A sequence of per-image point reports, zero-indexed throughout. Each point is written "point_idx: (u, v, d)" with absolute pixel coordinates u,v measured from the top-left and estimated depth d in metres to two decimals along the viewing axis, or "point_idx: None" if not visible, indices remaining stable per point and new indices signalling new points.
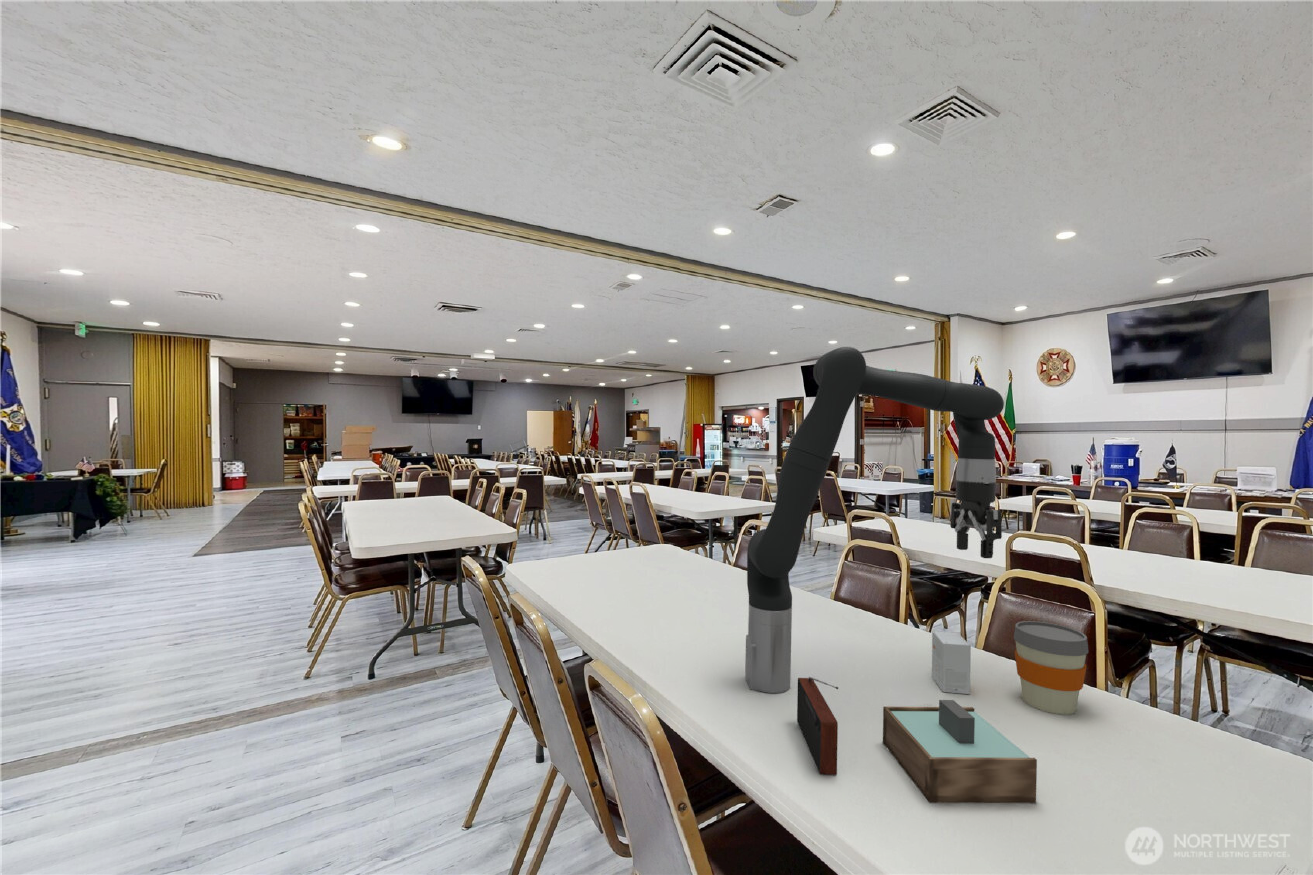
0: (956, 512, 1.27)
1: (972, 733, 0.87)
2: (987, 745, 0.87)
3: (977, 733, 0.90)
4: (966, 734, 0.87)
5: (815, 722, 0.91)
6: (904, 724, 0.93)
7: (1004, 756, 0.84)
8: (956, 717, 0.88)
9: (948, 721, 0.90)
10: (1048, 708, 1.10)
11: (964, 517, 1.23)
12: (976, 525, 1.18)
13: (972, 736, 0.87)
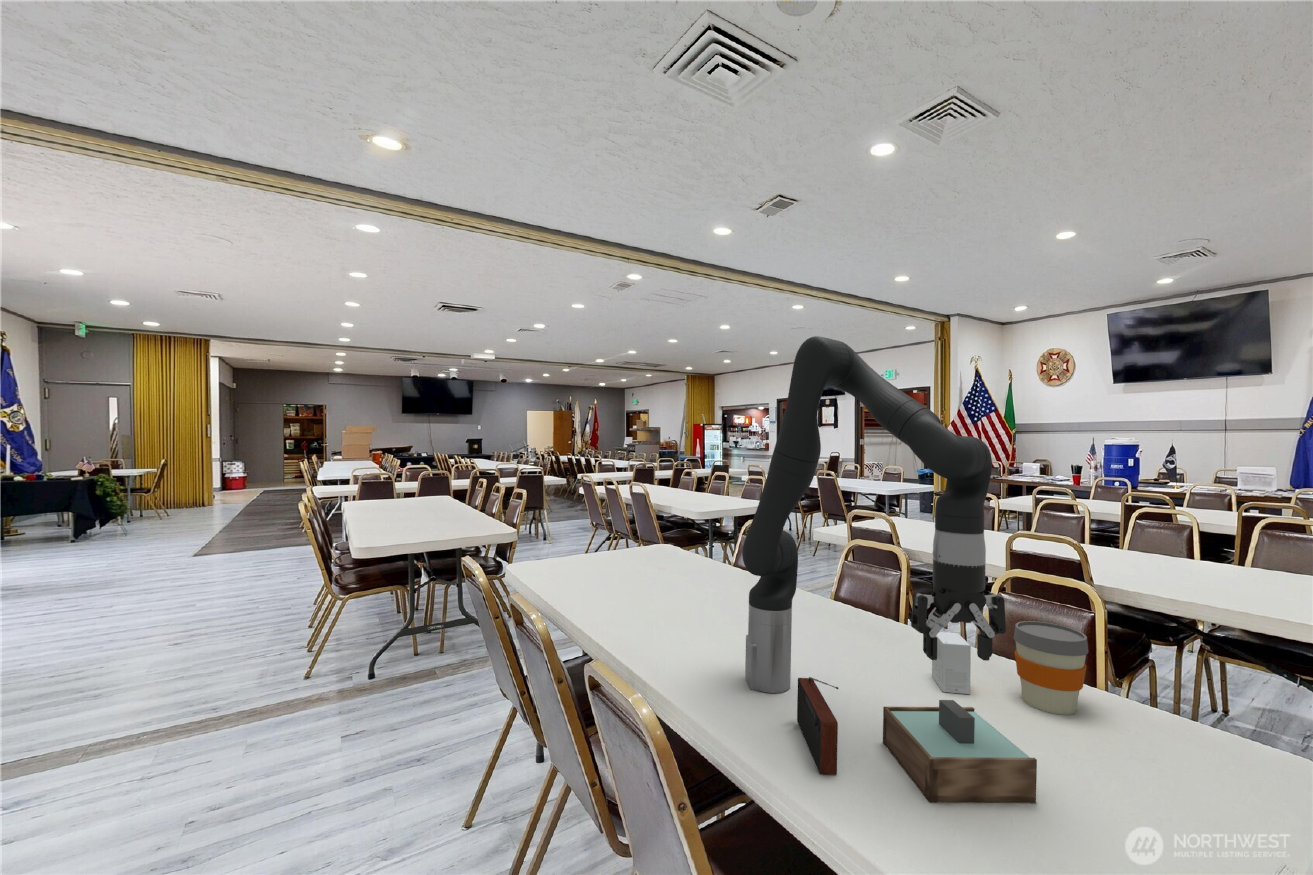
0: None
1: (972, 733, 0.87)
2: (987, 745, 0.87)
3: (977, 733, 0.90)
4: (966, 734, 0.87)
5: (815, 722, 0.91)
6: (904, 724, 0.93)
7: (1004, 756, 0.84)
8: (956, 717, 0.88)
9: (948, 721, 0.90)
10: (1048, 708, 1.10)
11: None
12: (984, 621, 0.89)
13: (972, 736, 0.87)
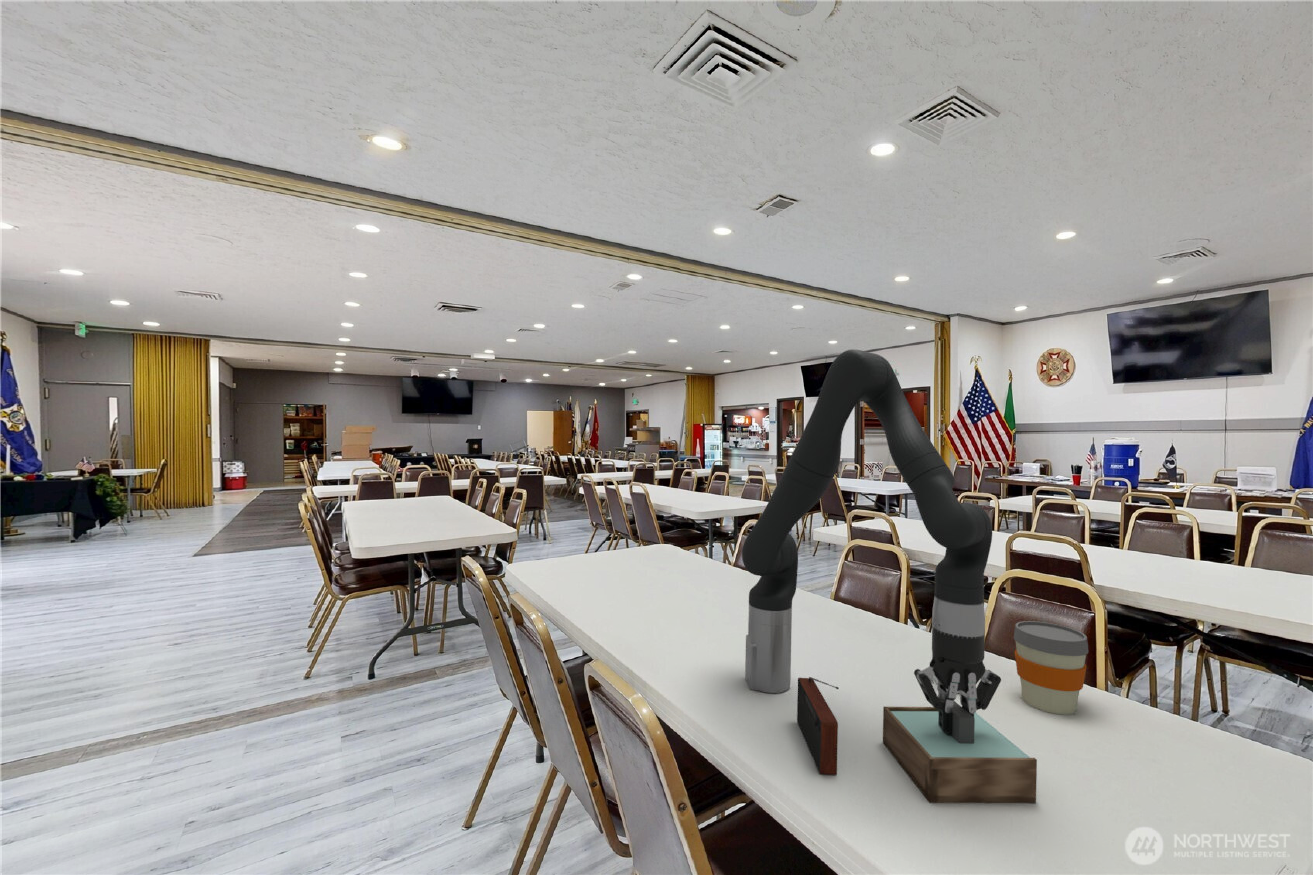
0: None
1: (972, 733, 0.87)
2: (987, 745, 0.87)
3: (977, 733, 0.90)
4: (966, 734, 0.87)
5: (815, 722, 0.91)
6: (904, 724, 0.93)
7: (1004, 756, 0.84)
8: (956, 717, 0.88)
9: None
10: (1048, 708, 1.10)
11: None
12: (973, 694, 0.89)
13: (972, 736, 0.87)
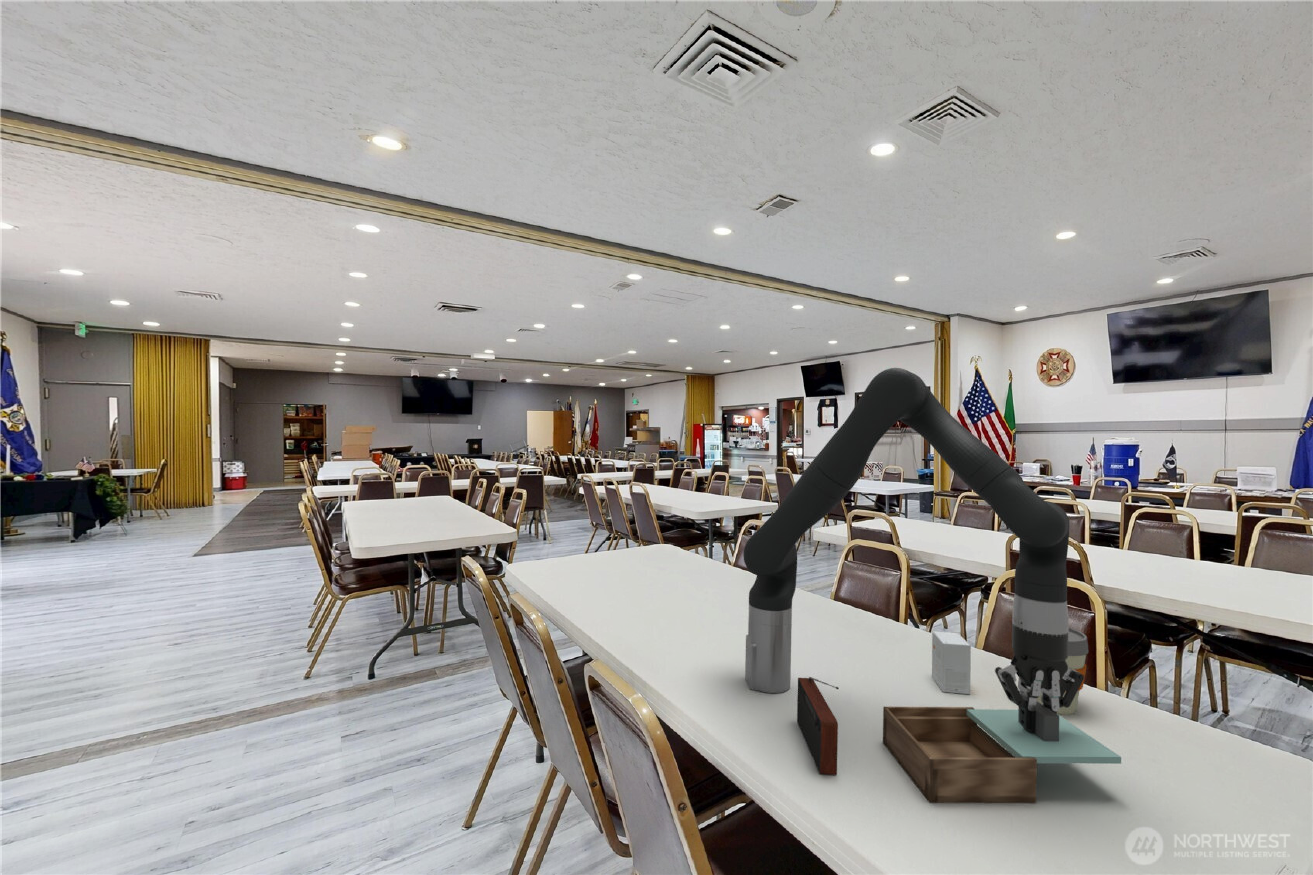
0: None
1: (1057, 731, 0.87)
2: (1072, 743, 0.87)
3: (1059, 731, 0.90)
4: (1051, 732, 0.87)
5: (815, 722, 0.91)
6: (984, 722, 0.93)
7: (1092, 754, 0.84)
8: (1040, 715, 0.88)
9: None
10: None
11: None
12: (1057, 692, 0.89)
13: (1057, 734, 0.87)
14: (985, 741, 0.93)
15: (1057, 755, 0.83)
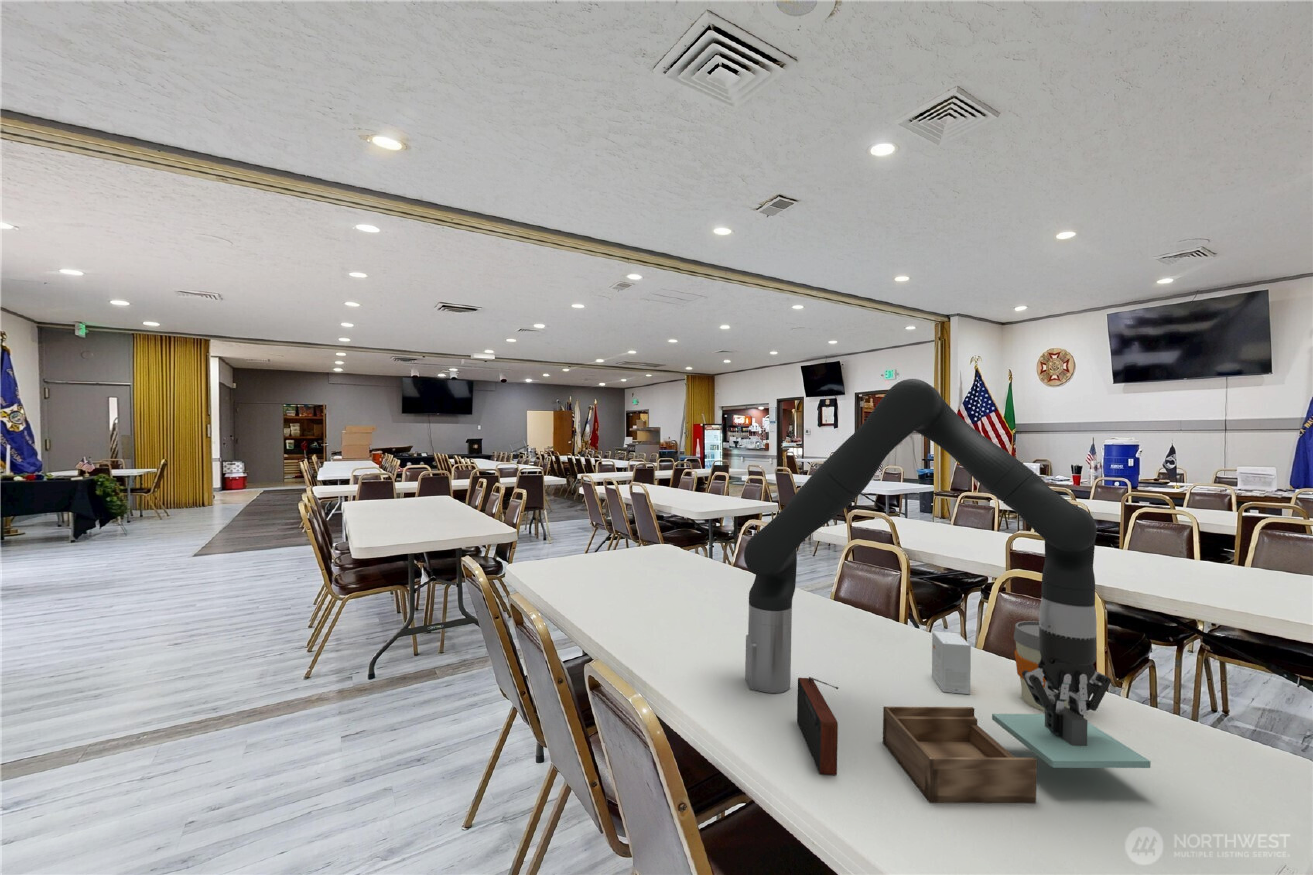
0: None
1: (1085, 735, 0.88)
2: (1101, 747, 0.87)
3: (1086, 736, 0.90)
4: (1079, 736, 0.88)
5: (815, 722, 0.91)
6: (1011, 727, 0.93)
7: (1121, 758, 0.84)
8: (1068, 719, 0.88)
9: None
10: None
11: None
12: (1084, 695, 0.89)
13: (1085, 738, 0.88)
14: (985, 741, 0.93)
15: (1087, 759, 0.84)
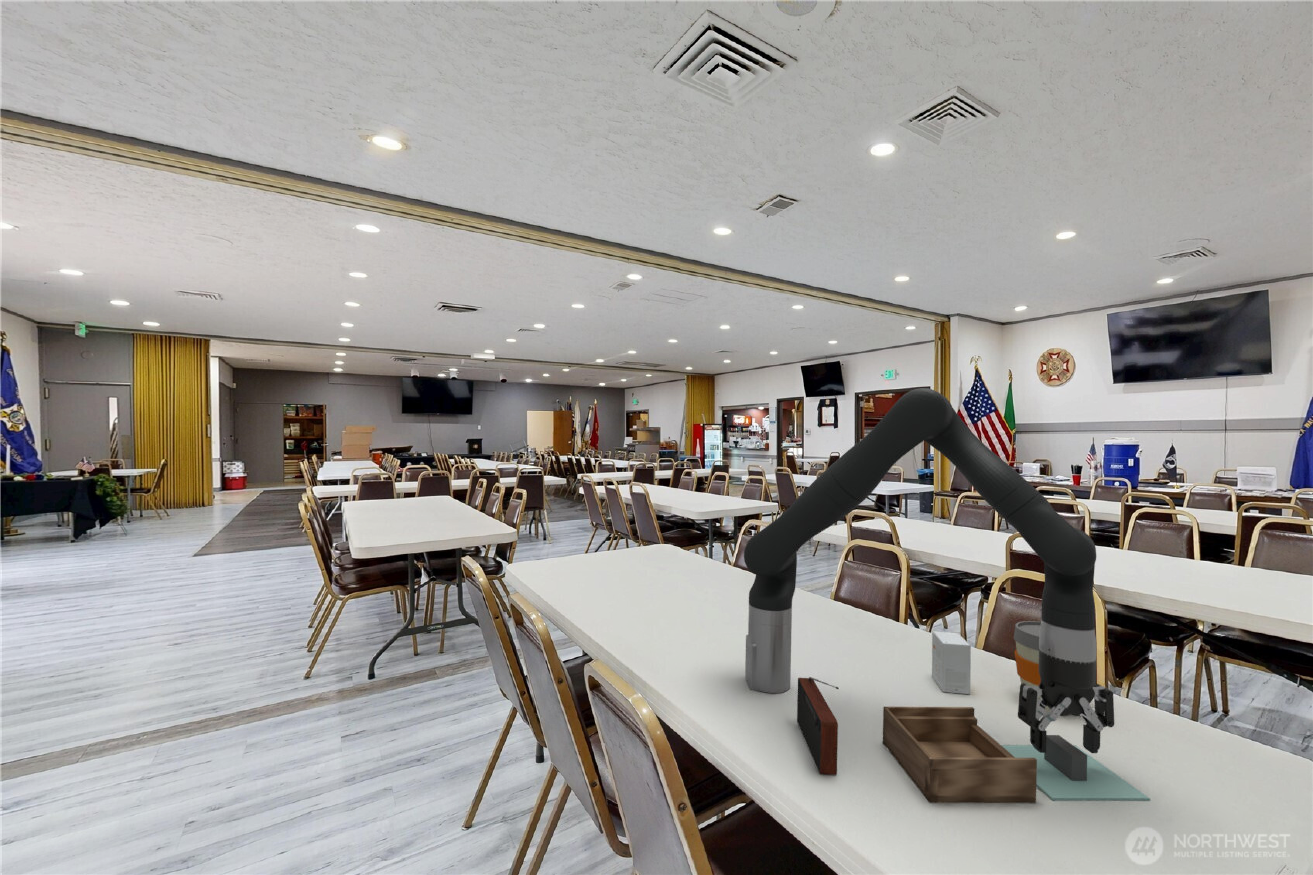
0: None
1: (1085, 771, 0.87)
2: (1100, 783, 0.87)
3: None
4: (1079, 771, 0.87)
5: (815, 722, 0.91)
6: None
7: (1121, 795, 0.84)
8: (1068, 754, 0.88)
9: (1056, 757, 0.91)
10: (1048, 708, 1.10)
11: None
12: (1093, 715, 0.89)
13: (1085, 773, 0.87)
14: (985, 741, 0.93)
15: (1086, 796, 0.83)
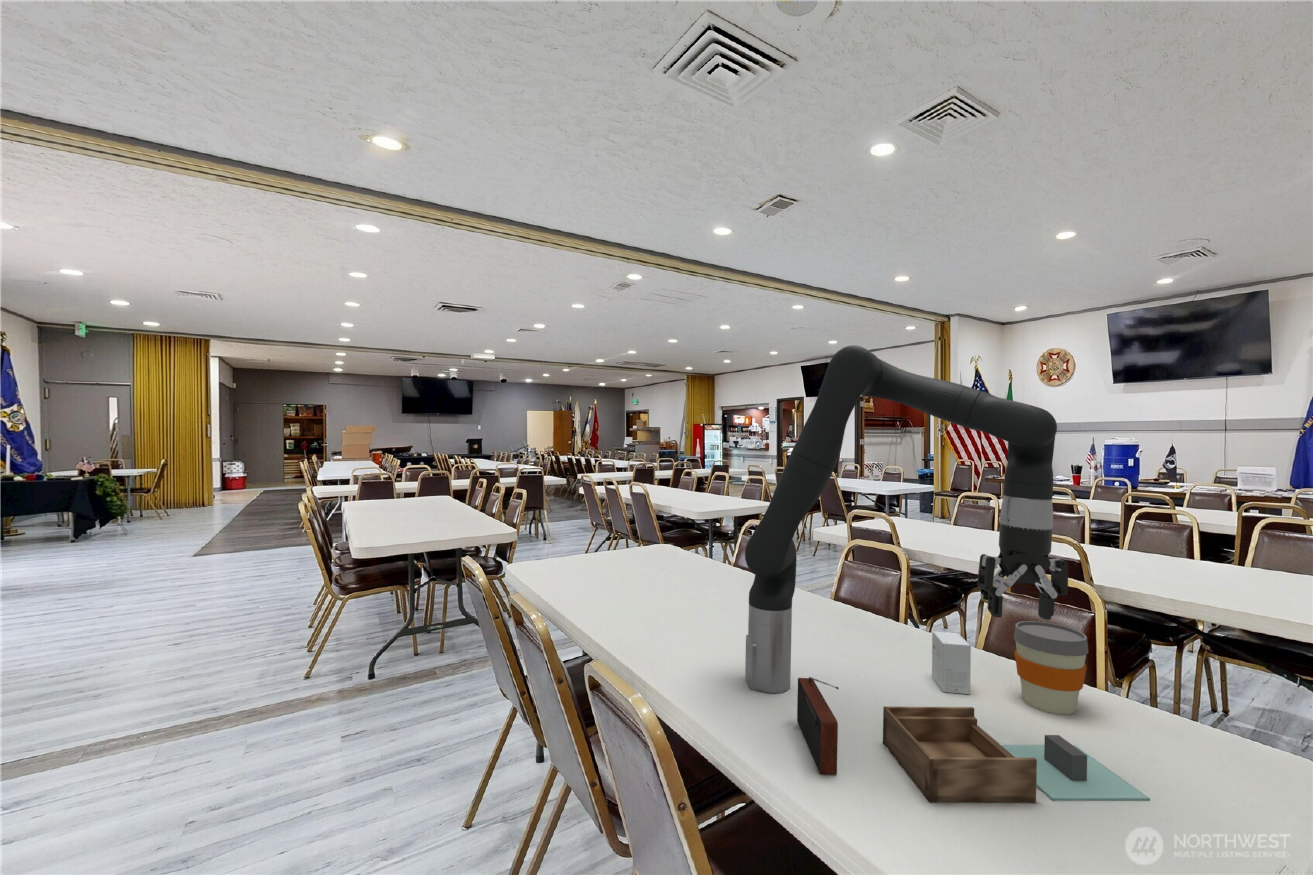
0: None
1: (1085, 771, 0.87)
2: (1100, 783, 0.87)
3: None
4: (1079, 771, 0.87)
5: (815, 722, 0.91)
6: None
7: (1121, 795, 0.84)
8: (1068, 754, 0.88)
9: (1056, 757, 0.91)
10: (1048, 708, 1.10)
11: None
12: (1048, 582, 0.94)
13: (1085, 773, 0.87)
14: (985, 741, 0.93)
15: (1086, 797, 0.83)
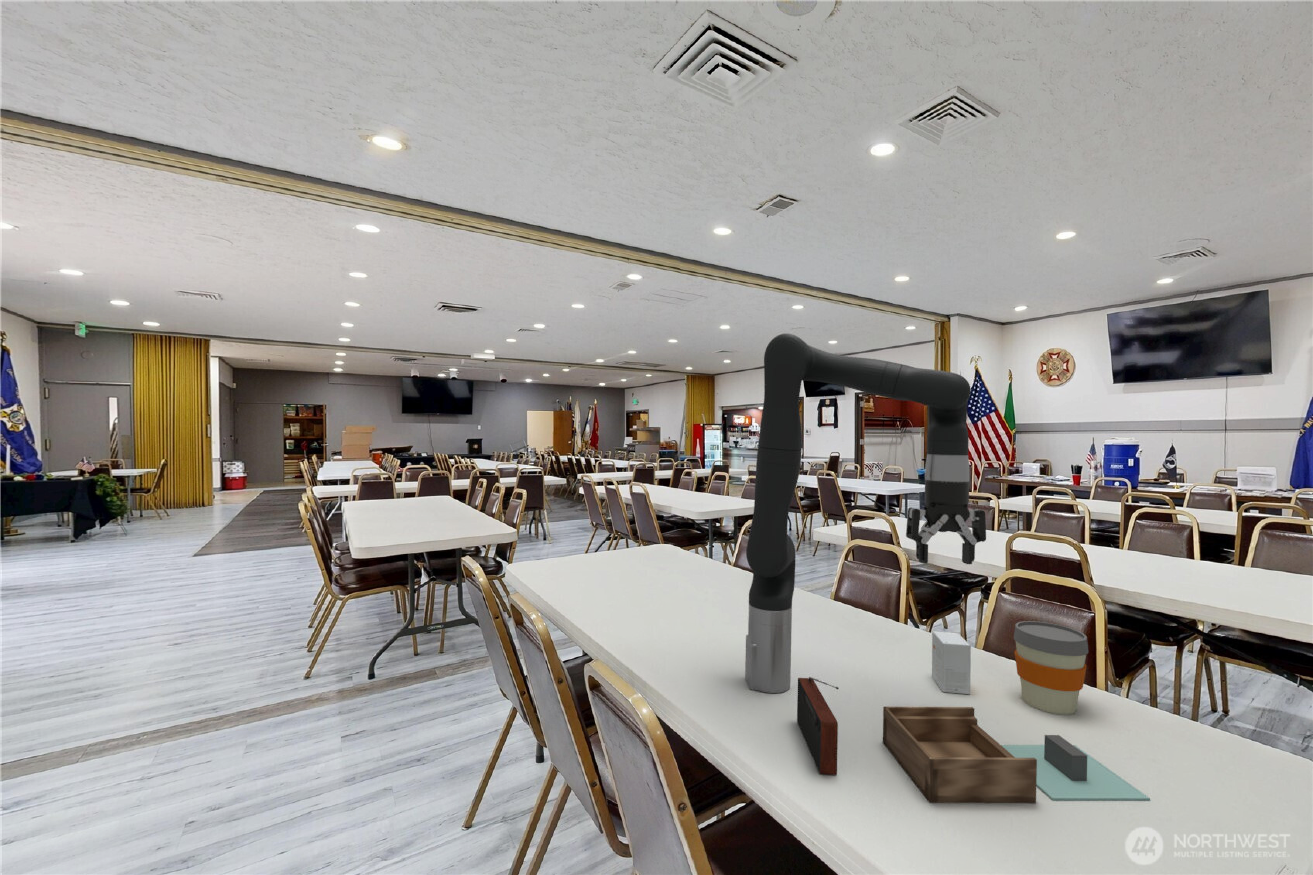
0: None
1: (1085, 771, 0.87)
2: (1100, 783, 0.87)
3: None
4: (1079, 771, 0.87)
5: (815, 722, 0.91)
6: None
7: (1121, 795, 0.84)
8: (1068, 754, 0.88)
9: (1056, 757, 0.91)
10: (1048, 708, 1.10)
11: None
12: (967, 530, 1.05)
13: (1085, 773, 0.87)
14: (985, 741, 0.93)
15: (1087, 797, 0.83)
